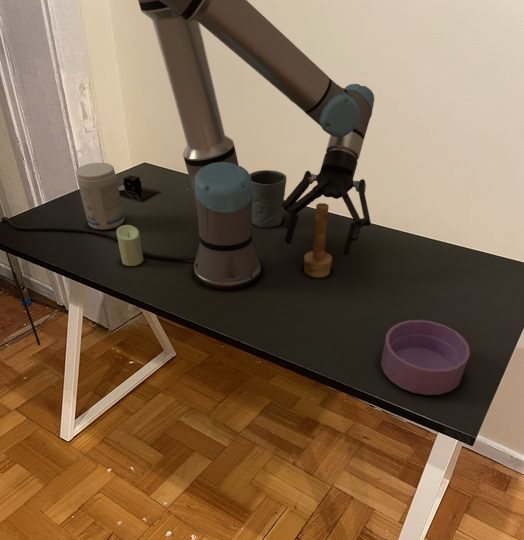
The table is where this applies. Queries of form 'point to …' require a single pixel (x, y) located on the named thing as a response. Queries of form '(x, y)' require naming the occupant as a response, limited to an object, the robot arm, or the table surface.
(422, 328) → the lilac bowl
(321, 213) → the dish brush
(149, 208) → the table surface
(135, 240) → the candle
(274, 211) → the grey green cup
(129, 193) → the black stepped block
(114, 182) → the supplement tub
